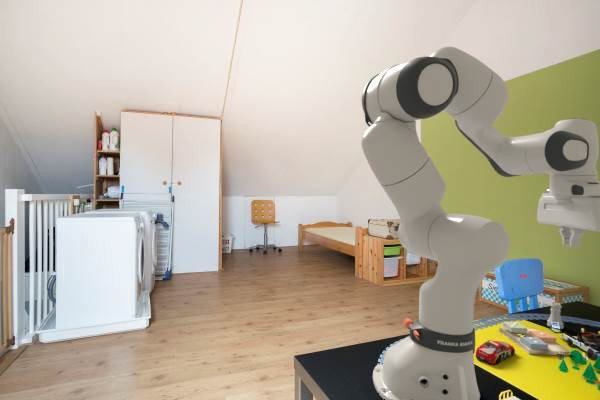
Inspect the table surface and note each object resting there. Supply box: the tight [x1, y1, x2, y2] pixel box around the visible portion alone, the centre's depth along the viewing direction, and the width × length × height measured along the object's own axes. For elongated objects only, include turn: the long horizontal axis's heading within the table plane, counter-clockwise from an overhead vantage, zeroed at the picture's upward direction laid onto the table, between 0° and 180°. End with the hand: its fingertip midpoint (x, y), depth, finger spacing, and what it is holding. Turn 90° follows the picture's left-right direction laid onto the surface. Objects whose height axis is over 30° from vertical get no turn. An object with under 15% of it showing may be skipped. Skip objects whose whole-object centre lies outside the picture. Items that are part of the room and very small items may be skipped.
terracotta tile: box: [529, 330, 557, 343], centre depth 97 cm, size 5×5×2 cm
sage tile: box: [502, 321, 528, 333], centre depth 101 cm, size 5×5×2 cm
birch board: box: [498, 327, 572, 356], centre depth 97 cm, size 11×15×1 cm
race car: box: [475, 339, 516, 365], centre depth 88 cm, size 13×5×4 cm, turn 122°
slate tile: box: [520, 337, 548, 350], centre depth 92 cm, size 5×5×2 cm
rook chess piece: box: [546, 301, 565, 330], centre depth 108 cm, size 4×4×8 cm
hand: (570, 246), depth 79 cm, fingers closed
